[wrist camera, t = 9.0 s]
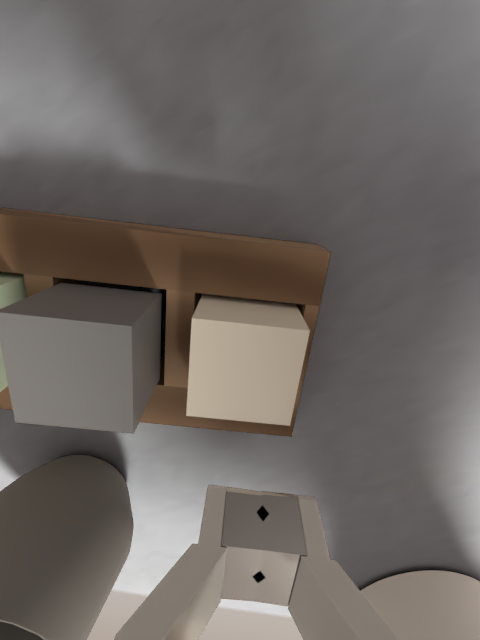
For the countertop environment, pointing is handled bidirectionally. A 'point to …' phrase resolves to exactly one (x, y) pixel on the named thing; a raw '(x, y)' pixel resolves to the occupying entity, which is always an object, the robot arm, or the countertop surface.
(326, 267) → the wooden tray
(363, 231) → the countertop surface
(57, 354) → the graphite key
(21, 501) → the cup
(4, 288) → the sage key
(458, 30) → the countertop surface
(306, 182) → the countertop surface
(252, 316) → the ivory key
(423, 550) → the countertop surface
